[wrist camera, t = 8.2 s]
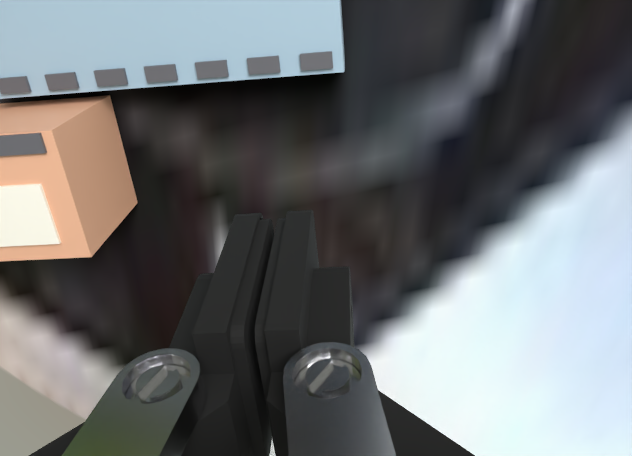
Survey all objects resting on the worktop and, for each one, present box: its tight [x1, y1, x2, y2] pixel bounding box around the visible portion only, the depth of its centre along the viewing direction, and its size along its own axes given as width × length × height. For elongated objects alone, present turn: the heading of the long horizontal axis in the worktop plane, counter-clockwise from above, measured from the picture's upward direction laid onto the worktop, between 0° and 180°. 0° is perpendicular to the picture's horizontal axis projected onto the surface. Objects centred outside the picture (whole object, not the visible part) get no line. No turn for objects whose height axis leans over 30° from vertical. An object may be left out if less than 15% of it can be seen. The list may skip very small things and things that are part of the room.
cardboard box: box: [0, 95, 138, 261], centre depth 22 cm, size 5×6×5 cm
